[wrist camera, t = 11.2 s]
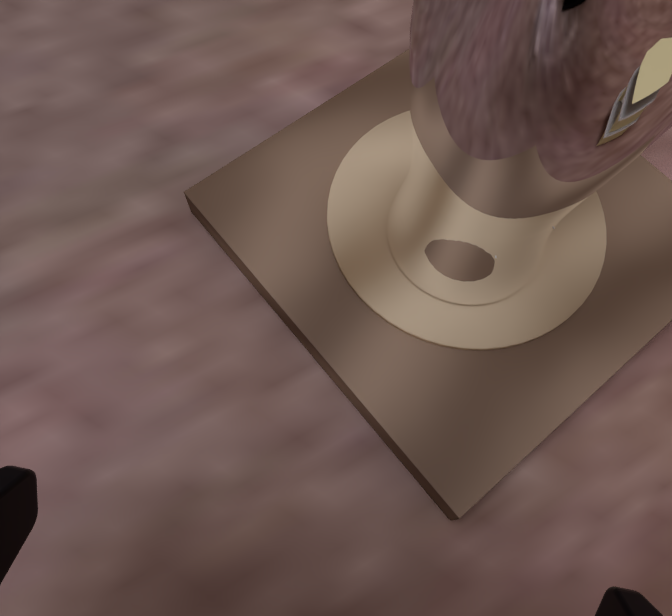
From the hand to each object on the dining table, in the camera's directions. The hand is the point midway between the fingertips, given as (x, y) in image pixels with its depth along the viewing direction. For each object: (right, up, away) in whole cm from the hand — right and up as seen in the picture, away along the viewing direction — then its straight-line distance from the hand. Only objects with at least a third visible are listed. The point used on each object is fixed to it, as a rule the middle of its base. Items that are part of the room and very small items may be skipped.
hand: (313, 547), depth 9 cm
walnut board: (+5, +7, +16) cm, 18 cm away
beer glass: (+5, +6, +14) cm, 16 cm away
